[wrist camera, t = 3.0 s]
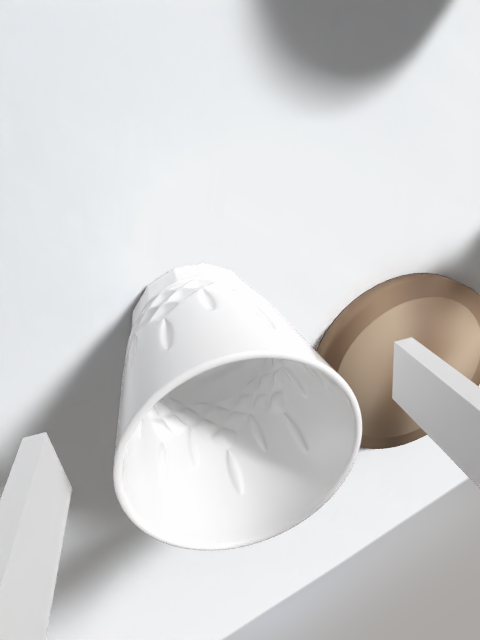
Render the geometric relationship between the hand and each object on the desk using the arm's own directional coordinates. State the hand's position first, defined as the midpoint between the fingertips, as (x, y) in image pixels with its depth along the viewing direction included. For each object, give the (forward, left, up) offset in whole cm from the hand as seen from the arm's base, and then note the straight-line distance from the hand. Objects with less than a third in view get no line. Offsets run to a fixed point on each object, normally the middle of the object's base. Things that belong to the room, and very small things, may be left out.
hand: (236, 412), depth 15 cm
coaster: (+12, -6, -7) cm, 15 cm away
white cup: (0, 0, -7) cm, 7 cm away
